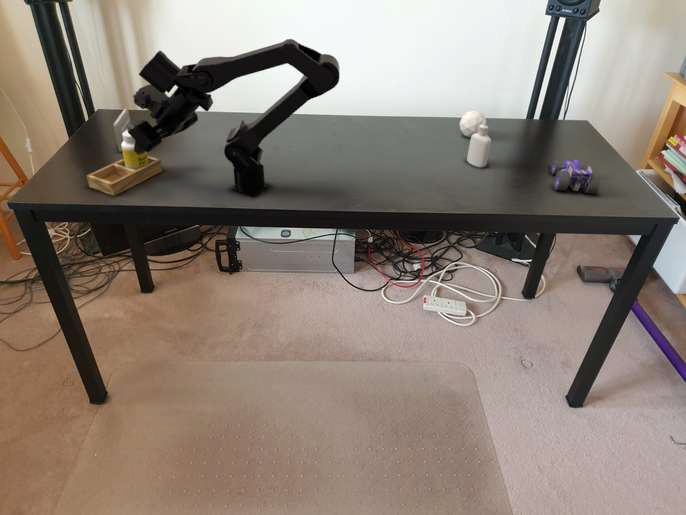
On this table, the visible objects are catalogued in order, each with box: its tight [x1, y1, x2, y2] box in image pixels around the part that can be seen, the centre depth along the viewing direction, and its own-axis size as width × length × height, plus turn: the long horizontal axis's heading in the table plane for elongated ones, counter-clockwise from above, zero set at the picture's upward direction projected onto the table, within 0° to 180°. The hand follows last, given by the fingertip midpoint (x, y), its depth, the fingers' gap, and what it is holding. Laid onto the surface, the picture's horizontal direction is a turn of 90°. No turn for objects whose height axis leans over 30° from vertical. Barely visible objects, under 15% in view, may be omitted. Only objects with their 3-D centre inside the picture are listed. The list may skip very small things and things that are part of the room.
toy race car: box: [550, 159, 601, 195], centre depth 135 cm, size 10×15×6 cm, turn 172°
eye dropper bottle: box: [466, 120, 492, 168], centre depth 140 cm, size 4×6×12 cm
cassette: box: [113, 108, 132, 153], centre depth 143 cm, size 12×2×8 cm, turn 5°
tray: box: [86, 155, 163, 197], centre depth 127 cm, size 8×15×3 cm, turn 152°
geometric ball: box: [459, 110, 488, 139], centre depth 157 cm, size 8×8×8 cm
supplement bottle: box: [121, 131, 149, 170], centre depth 127 cm, size 5×5×10 cm
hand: (148, 144), depth 125 cm, fingers open, 9 cm apart
